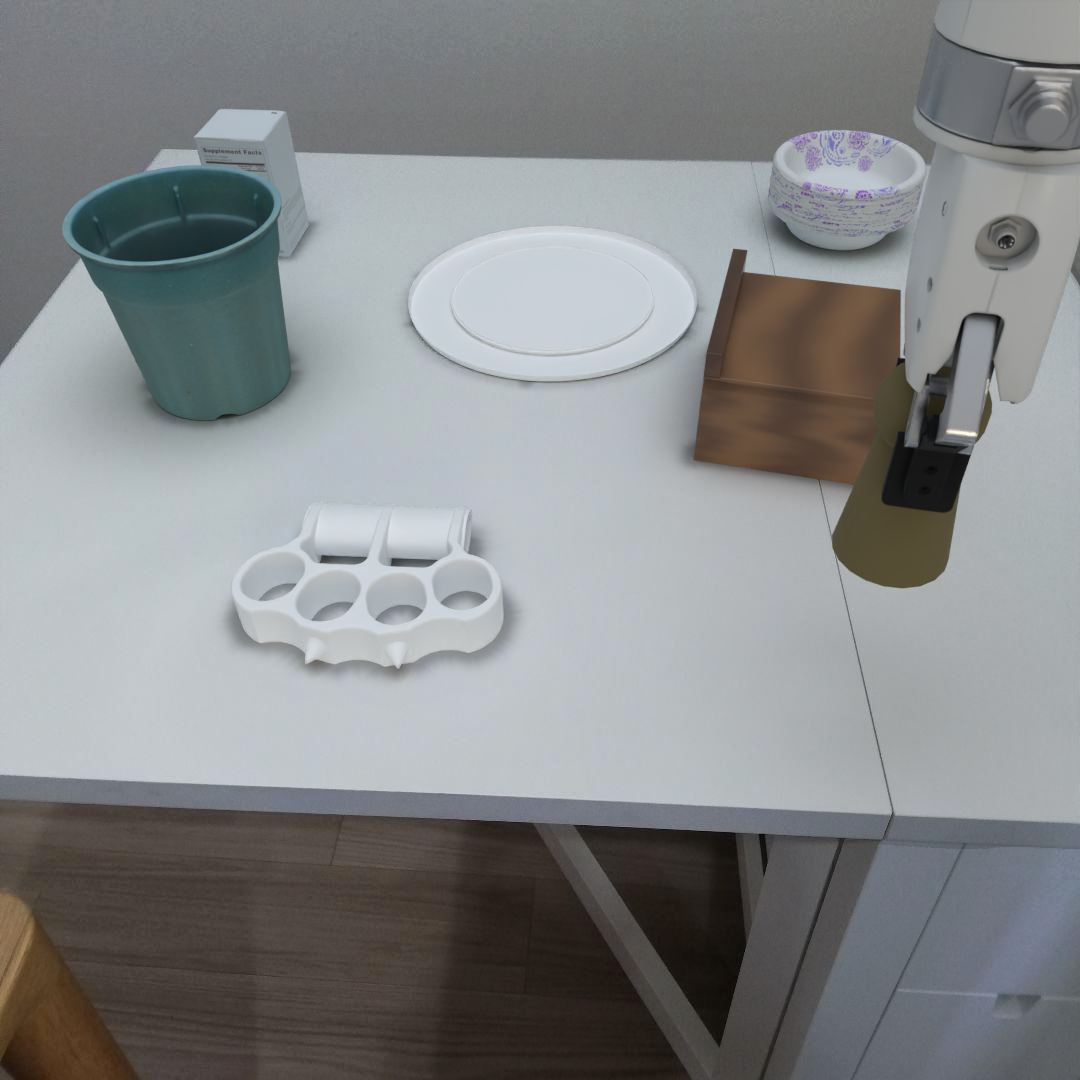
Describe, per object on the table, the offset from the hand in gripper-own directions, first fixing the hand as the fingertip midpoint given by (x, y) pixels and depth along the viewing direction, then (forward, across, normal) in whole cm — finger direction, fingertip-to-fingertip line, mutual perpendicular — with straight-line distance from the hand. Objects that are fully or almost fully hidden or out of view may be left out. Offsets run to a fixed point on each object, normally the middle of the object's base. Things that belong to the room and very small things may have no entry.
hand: (914, 462), depth 48 cm
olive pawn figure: (+6, 0, 0) cm, 6 cm away
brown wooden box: (+19, +28, +6) cm, 34 cm away
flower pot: (+18, +22, +54) cm, 61 cm away
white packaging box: (+18, +47, +62) cm, 80 cm away
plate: (+18, +42, +29) cm, 54 cm away
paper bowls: (+19, +62, +3) cm, 65 cm away
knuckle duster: (+18, 0, +32) cm, 37 cm away
